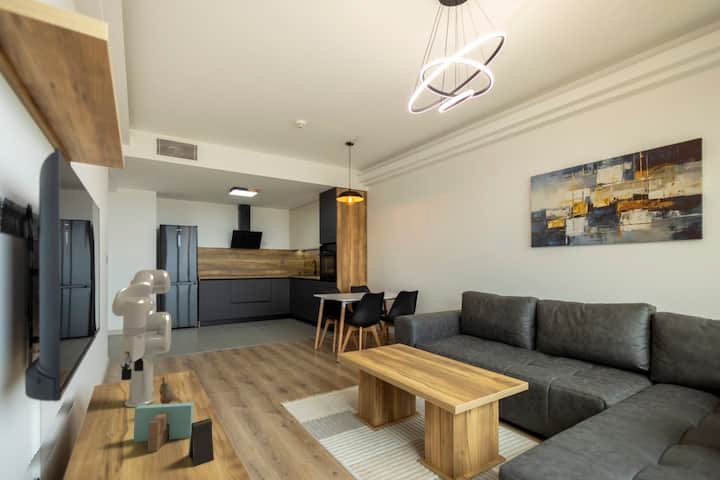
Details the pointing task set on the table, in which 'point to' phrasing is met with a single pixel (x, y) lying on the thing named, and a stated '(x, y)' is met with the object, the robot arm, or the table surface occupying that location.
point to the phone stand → (201, 442)
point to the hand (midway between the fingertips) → (132, 375)
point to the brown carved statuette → (167, 393)
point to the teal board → (176, 417)
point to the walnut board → (158, 431)
